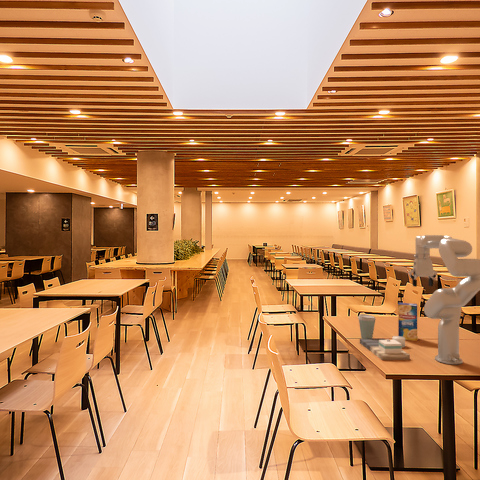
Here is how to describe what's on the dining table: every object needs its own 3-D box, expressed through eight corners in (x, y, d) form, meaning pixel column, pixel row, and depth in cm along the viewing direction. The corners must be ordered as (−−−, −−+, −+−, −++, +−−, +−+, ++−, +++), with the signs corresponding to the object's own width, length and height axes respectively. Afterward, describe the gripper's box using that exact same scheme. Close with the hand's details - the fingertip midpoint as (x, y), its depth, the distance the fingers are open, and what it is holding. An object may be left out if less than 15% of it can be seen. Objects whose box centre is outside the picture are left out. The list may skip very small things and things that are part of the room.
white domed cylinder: (407, 347, 217) (407, 339, 217) (395, 347, 217) (395, 339, 217) (401, 344, 224) (401, 335, 224) (390, 344, 224) (390, 336, 224)
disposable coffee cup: (371, 336, 242) (371, 313, 242) (378, 341, 231) (378, 317, 231) (355, 336, 241) (355, 313, 241) (361, 341, 231) (361, 317, 231)
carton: (401, 353, 198) (401, 342, 198) (385, 353, 198) (385, 343, 198) (394, 348, 206) (394, 338, 206) (378, 349, 206) (378, 338, 206)
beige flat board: (409, 359, 195) (409, 354, 195) (381, 360, 195) (381, 355, 195) (383, 342, 227) (383, 338, 227) (359, 342, 227) (359, 338, 227)
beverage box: (417, 340, 231) (417, 305, 231) (398, 339, 235) (398, 304, 235) (417, 338, 237) (417, 303, 237) (398, 336, 242) (398, 302, 242)
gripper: (411, 257, 212) (412, 287, 212) (440, 257, 213) (440, 286, 213) (405, 256, 219) (405, 285, 219) (432, 256, 221) (433, 285, 220)
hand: (422, 286), depth 216 cm, fingers open, 9 cm apart
